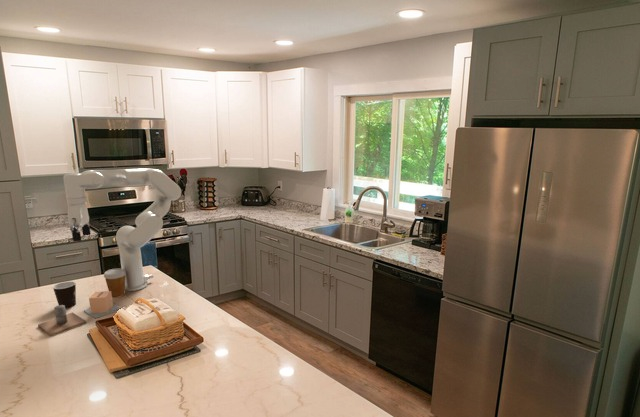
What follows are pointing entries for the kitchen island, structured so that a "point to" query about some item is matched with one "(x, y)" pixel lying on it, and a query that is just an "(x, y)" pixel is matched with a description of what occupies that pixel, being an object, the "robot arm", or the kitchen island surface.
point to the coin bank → (101, 302)
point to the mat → (96, 315)
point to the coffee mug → (66, 293)
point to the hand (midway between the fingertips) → (82, 237)
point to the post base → (61, 328)
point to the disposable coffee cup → (116, 281)
